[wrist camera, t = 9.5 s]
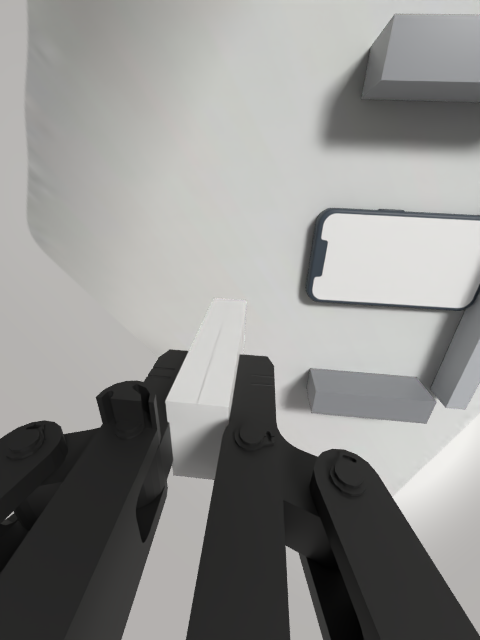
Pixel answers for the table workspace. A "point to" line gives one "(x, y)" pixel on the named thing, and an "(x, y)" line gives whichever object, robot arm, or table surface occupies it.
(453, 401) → the grey u-shaped piece
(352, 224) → the smartphone
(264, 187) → the table surface
